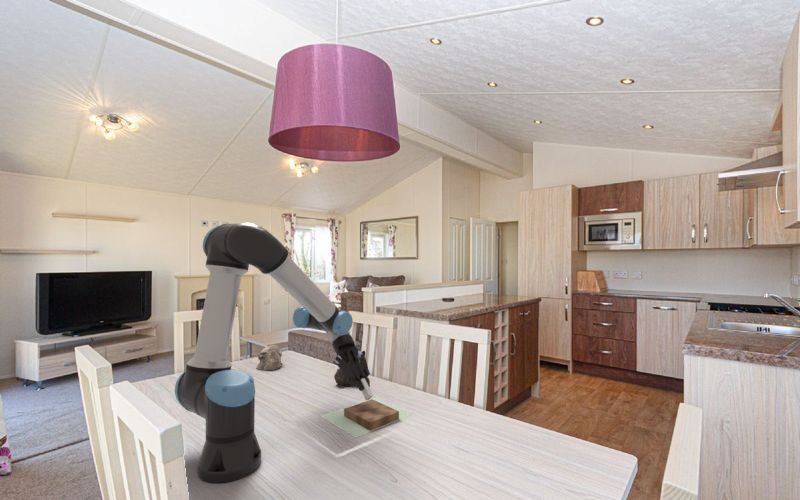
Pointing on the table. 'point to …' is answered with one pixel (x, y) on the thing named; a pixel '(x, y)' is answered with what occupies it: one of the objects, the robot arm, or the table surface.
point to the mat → (351, 426)
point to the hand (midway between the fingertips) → (369, 397)
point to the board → (371, 414)
